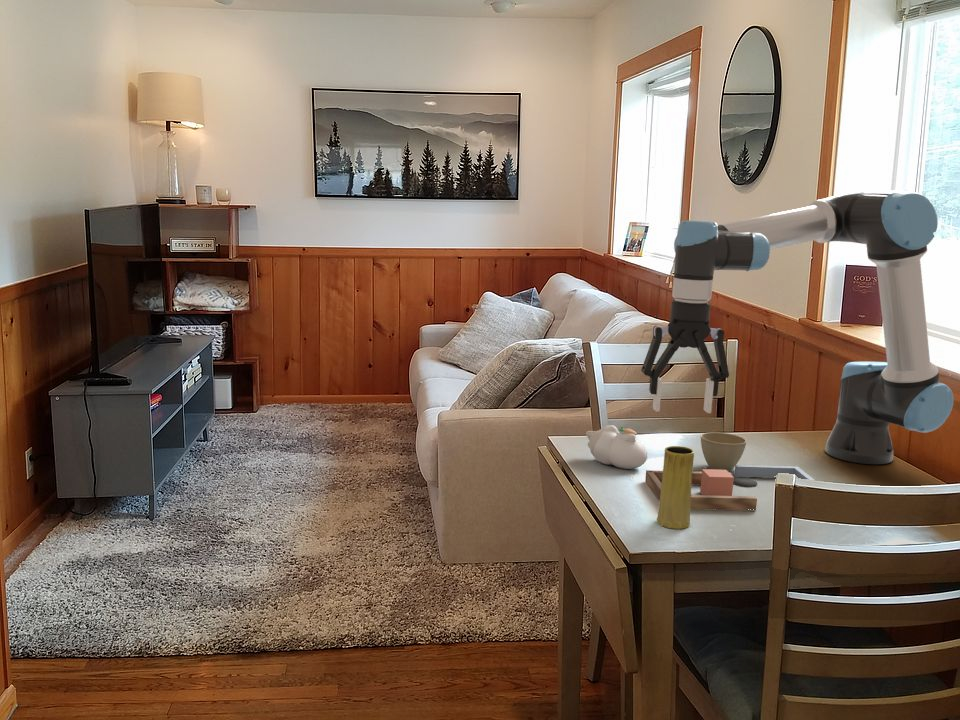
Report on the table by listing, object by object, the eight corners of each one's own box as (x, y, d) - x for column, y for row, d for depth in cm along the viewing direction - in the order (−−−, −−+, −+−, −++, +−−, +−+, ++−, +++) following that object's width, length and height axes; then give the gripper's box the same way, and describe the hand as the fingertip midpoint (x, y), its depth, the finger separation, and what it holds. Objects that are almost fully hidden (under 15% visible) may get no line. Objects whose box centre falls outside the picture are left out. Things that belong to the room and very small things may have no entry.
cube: (723, 492, 189) (726, 469, 188) (731, 501, 184) (733, 477, 183) (700, 492, 188) (702, 469, 187) (707, 500, 183) (709, 476, 183)
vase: (695, 523, 170) (702, 450, 167) (679, 532, 165) (686, 456, 163) (667, 515, 174) (673, 443, 171) (650, 523, 169) (656, 449, 167)
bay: (796, 476, 201) (797, 466, 201) (815, 492, 191) (816, 481, 191) (734, 475, 200) (735, 465, 200) (749, 490, 190) (750, 479, 190)
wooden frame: (729, 483, 194) (730, 472, 194) (755, 510, 178) (757, 498, 178) (645, 481, 193) (646, 470, 193) (664, 508, 177) (665, 496, 177)
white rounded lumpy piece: (653, 430, 199) (593, 410, 207) (636, 455, 194) (575, 434, 202) (655, 460, 205) (596, 440, 213) (639, 484, 200) (580, 463, 208)
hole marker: (752, 479, 198) (752, 477, 198) (760, 487, 193) (761, 485, 193) (727, 478, 198) (727, 477, 198) (735, 486, 193) (736, 485, 193)
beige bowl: (745, 477, 199) (748, 445, 198) (698, 472, 201) (701, 441, 200) (741, 464, 209) (744, 434, 208) (697, 460, 211) (699, 430, 209)
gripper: (741, 299, 182) (730, 407, 187) (630, 295, 181) (622, 404, 185) (753, 304, 175) (742, 417, 179) (639, 300, 174) (630, 413, 178)
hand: (681, 410), depth 182 cm, fingers open, 10 cm apart
